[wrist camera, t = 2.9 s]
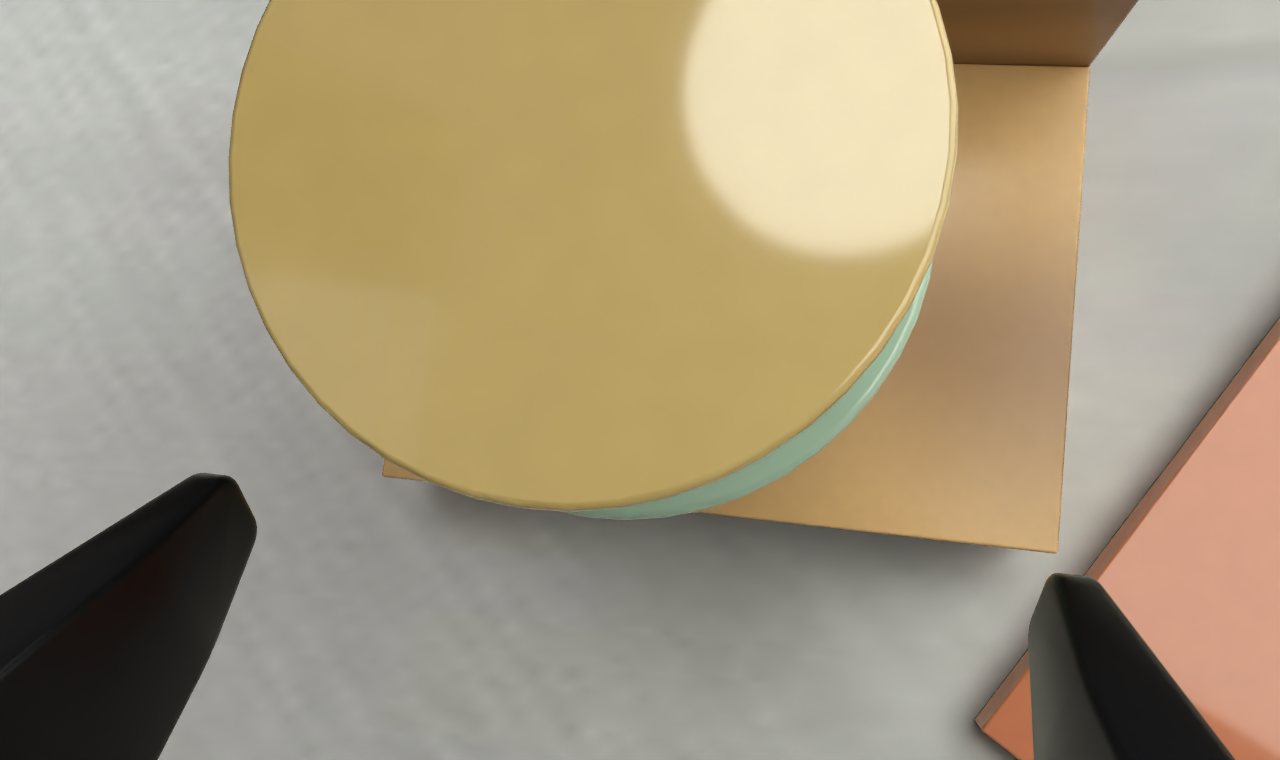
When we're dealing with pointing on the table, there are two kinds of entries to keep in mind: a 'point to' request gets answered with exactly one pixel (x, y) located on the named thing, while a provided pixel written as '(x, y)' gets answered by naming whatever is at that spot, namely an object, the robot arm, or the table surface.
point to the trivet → (1200, 572)
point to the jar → (593, 231)
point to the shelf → (977, 308)
